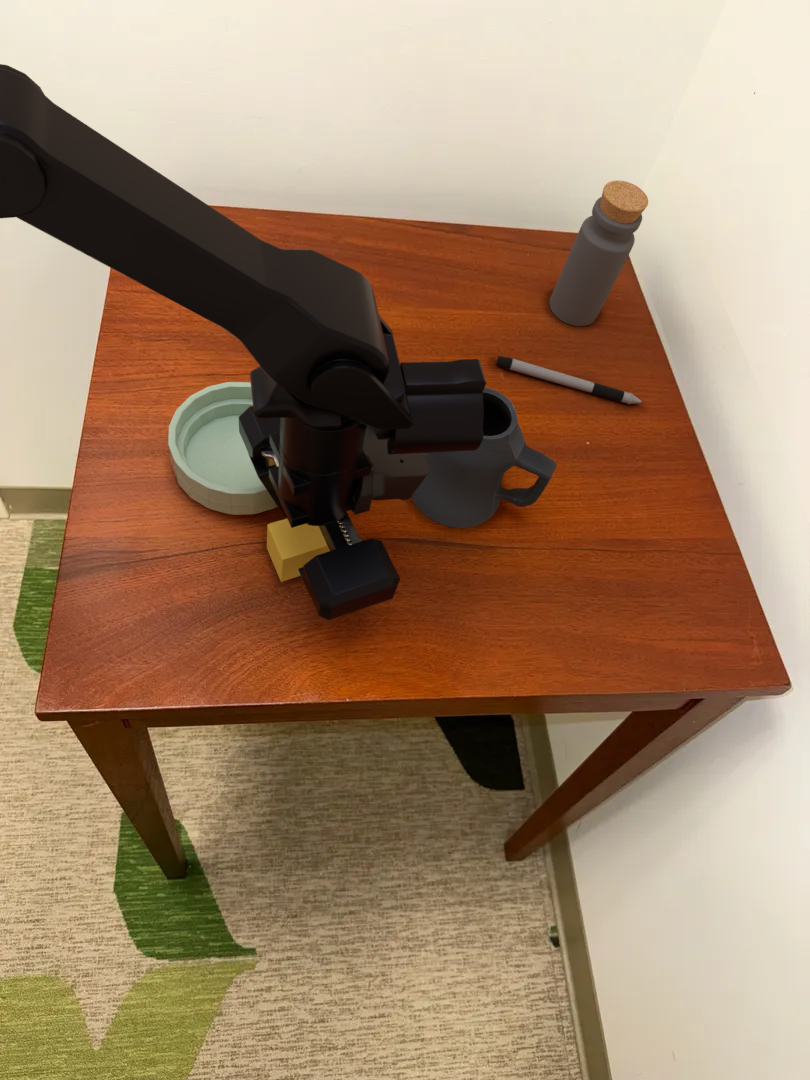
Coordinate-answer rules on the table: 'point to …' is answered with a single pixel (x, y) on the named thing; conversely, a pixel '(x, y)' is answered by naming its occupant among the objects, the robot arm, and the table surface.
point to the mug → (482, 471)
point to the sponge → (293, 546)
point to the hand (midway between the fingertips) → (309, 554)
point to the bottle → (598, 254)
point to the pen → (566, 380)
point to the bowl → (216, 451)
